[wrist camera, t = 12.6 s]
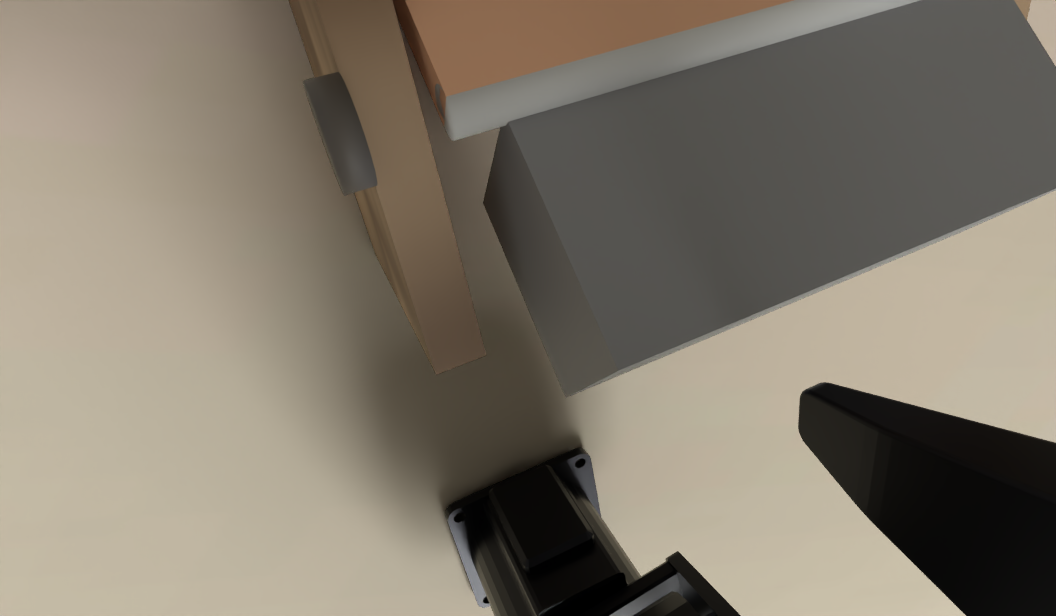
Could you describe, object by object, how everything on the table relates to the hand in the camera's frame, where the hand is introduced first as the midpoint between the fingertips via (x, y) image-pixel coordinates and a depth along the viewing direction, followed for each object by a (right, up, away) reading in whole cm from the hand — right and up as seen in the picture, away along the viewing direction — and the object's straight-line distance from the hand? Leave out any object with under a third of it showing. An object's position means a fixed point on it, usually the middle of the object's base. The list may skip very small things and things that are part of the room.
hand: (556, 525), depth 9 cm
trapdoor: (+3, +10, +8) cm, 13 cm away
